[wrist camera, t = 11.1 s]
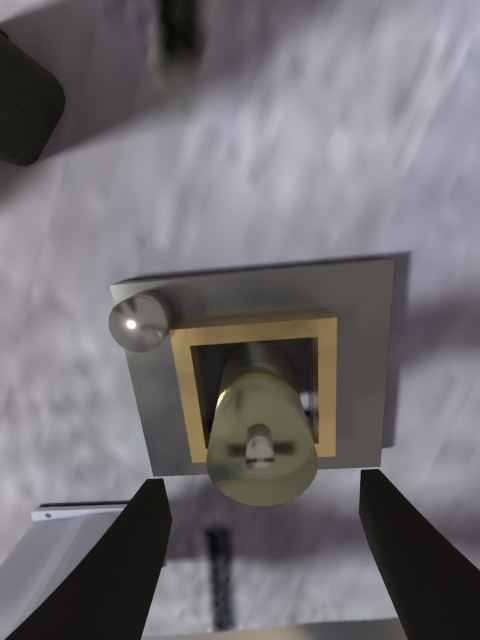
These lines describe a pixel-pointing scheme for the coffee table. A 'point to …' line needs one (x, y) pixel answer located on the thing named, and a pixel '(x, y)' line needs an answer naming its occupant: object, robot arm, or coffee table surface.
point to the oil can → (260, 430)
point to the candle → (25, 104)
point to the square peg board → (258, 325)
